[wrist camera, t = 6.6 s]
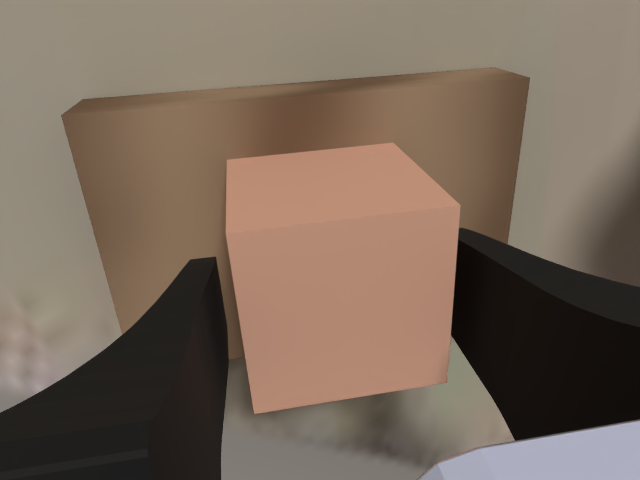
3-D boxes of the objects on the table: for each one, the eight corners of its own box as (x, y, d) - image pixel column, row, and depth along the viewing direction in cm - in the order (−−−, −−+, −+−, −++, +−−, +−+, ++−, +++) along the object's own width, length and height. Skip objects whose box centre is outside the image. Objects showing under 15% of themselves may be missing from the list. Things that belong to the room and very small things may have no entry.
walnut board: (495, 67, 15) (530, 77, 13) (471, 290, 19) (496, 321, 17) (82, 99, 14) (60, 115, 12) (143, 334, 17) (133, 373, 16)
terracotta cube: (393, 142, 14) (460, 205, 10) (391, 283, 16) (447, 382, 12) (226, 159, 13) (225, 233, 9) (247, 302, 15) (254, 413, 11)
